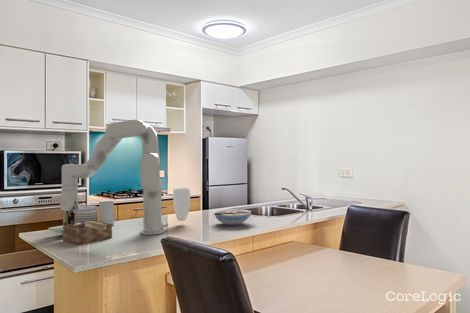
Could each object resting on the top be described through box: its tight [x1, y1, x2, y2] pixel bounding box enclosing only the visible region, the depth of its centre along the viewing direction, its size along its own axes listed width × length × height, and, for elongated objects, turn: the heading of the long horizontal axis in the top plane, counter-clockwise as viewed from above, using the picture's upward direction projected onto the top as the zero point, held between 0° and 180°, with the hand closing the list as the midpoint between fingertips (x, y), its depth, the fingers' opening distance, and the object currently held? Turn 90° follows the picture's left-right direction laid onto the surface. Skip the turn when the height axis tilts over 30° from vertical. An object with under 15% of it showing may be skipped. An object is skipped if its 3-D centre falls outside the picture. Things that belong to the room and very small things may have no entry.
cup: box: [172, 187, 191, 222], centre depth 211 cm, size 10×10×22 cm
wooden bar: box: [85, 221, 106, 230], centre depth 161 cm, size 2×14×2 cm, turn 54°
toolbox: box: [62, 220, 113, 246], centre depth 175 cm, size 18×14×9 cm
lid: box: [47, 212, 82, 234], centre depth 185 cm, size 17×12×8 cm
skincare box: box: [98, 199, 115, 226], centre depth 211 cm, size 8×6×15 cm
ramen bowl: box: [212, 208, 253, 226], centre depth 213 cm, size 25×23×8 cm
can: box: [76, 204, 99, 223], centre depth 206 cm, size 11×11×12 cm
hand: (69, 223), depth 185 cm, fingers closed on lid
